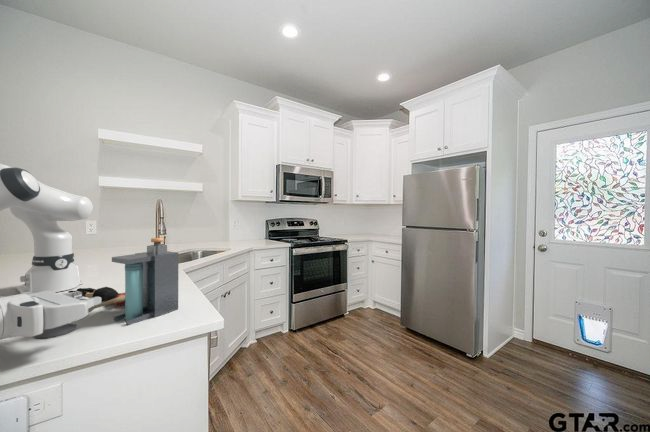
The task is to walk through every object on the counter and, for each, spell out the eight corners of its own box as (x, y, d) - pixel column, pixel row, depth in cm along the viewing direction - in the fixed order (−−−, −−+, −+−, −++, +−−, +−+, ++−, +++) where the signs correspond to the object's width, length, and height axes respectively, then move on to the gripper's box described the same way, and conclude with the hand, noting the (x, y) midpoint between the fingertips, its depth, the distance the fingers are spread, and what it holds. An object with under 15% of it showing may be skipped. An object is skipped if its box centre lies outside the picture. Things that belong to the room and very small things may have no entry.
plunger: (148, 252, 89) (148, 238, 89) (158, 250, 92) (158, 237, 92) (155, 252, 87) (155, 239, 87) (165, 251, 90) (165, 238, 90)
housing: (110, 320, 82) (109, 248, 81) (159, 304, 96) (159, 243, 95) (130, 326, 78) (129, 251, 77) (178, 309, 92) (178, 245, 91)
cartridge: (121, 319, 82) (121, 264, 82) (137, 314, 87) (137, 261, 86) (130, 322, 80) (130, 265, 80) (146, 317, 85) (146, 262, 84)
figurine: (23, 314, 86) (98, 325, 80) (23, 297, 86) (98, 306, 79) (112, 288, 114) (173, 295, 108) (112, 275, 114) (173, 281, 108)
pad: (29, 334, 72) (29, 332, 72) (67, 323, 79) (67, 321, 79) (43, 341, 69) (43, 339, 69) (82, 328, 76) (82, 326, 76)
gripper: (-3, 320, 65) (70, 302, 77) (36, 338, 56) (111, 315, 69) (-4, 294, 65) (70, 280, 77) (35, 308, 56) (111, 290, 69)
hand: (90, 296), depth 73 cm, fingers open, 8 cm apart
